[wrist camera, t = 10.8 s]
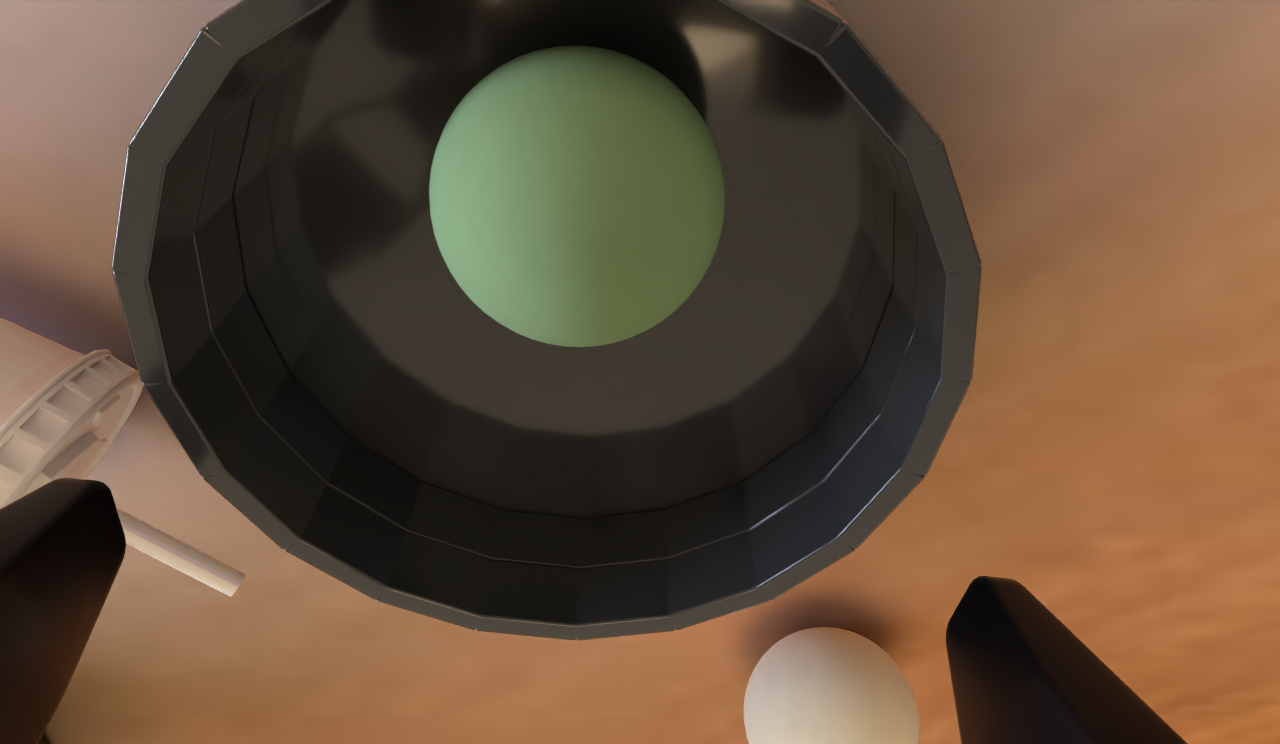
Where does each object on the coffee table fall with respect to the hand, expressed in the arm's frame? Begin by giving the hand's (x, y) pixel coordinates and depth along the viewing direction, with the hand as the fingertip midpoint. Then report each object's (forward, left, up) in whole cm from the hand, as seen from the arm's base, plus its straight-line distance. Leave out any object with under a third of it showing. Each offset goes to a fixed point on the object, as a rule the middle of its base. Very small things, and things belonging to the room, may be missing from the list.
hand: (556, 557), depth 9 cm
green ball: (+1, 0, -7) cm, 7 cm away
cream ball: (-14, -9, -8) cm, 19 cm away
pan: (-2, 0, -10) cm, 11 cm away
